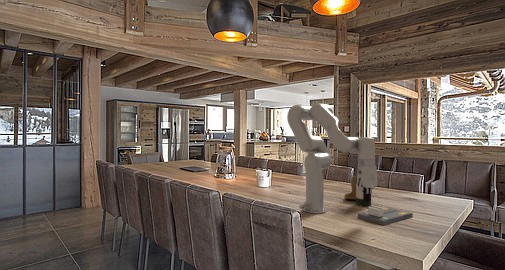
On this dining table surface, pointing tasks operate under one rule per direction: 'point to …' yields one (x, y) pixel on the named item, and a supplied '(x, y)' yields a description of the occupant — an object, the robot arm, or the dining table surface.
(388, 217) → the fader console
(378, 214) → the fader knob
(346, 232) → the dining table surface
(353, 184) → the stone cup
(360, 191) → the wine bottle
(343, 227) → the dining table surface
